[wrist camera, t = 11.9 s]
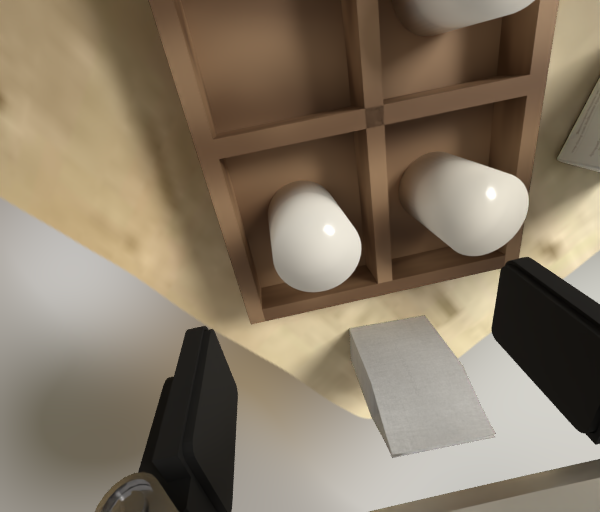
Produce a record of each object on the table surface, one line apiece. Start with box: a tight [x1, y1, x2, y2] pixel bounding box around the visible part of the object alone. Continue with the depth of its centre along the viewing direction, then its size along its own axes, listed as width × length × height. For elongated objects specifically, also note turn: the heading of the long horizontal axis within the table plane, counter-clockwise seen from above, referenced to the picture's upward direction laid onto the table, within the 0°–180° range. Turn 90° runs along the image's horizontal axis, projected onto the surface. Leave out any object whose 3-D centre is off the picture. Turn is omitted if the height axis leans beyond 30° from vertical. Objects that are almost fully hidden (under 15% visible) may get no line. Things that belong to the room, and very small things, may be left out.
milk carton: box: [349, 315, 496, 458], centre depth 25 cm, size 4×7×10 cm, turn 96°
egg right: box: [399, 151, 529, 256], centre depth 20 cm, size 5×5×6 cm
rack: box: [149, 0, 559, 324], centre depth 19 cm, size 23×19×4 cm
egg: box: [268, 180, 361, 292], centre depth 20 cm, size 5×5×6 cm
